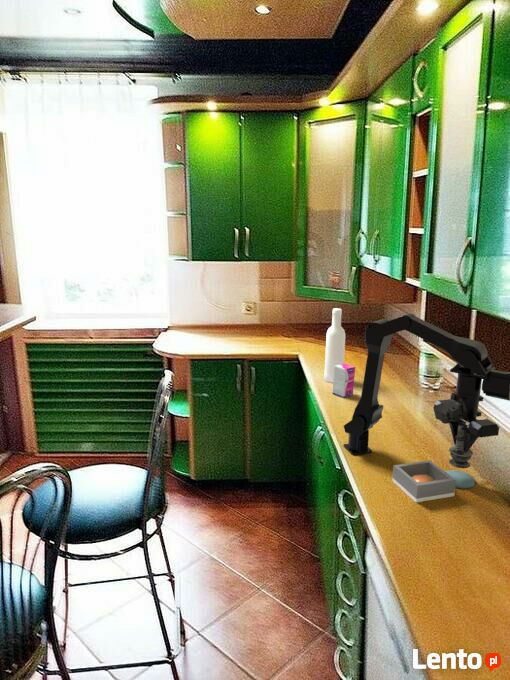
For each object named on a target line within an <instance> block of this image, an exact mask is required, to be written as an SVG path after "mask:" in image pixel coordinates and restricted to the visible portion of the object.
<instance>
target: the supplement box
mask: <svg viewBox="0 0 510 680" xmlns="http://www.w3.org/2000/svg"><path fill="white" fill-rule="evenodd" d="M355 373H356V367H355V366H353V365H350V364H347V363H345V362H344V364H340V365H336V366H335V367H334V380H333V383H332V392H331V393H332V395H334V396H337V397H340V398H342V399H344V398H346V397H350V396H354V386H355V385H354V384H355V375H356V374H355Z"/></svg>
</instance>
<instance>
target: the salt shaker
mask: <svg viewBox="0 0 510 680" xmlns="http://www.w3.org/2000/svg"><path fill="white" fill-rule="evenodd" d="M465 423H466V424H465ZM467 425H468V424H467V422H465V421H464V422H463V424H460V425H459V426H458V432H457V435H456V436H455V437H456V444H454V445H453V446H450V447H449V449H448V451H449V455H450V459H449V460H448V464H449V465H451V466H452V467H454V468H458V469H468V468H470V467H471V463H470V462H469V461H470V459H472V456H473V455H474V452H473V451H472V450H471V448H470V449H469V450H468V451H464V432H463V431H462V430H461V428H465V427H467Z"/></svg>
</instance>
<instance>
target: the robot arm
mask: <svg viewBox="0 0 510 680" xmlns="http://www.w3.org/2000/svg"><path fill="white" fill-rule="evenodd" d="M402 331H407V332H409V333H410V334H411V335H414V336H416V337H418V338H420V339H421V340H423V341H425V342H427V343H430V344H431V345H434V346H435V347H437V348H439V349H441V350H443V351H444V352H446V353H447V354H448V355H449V356H450V358H452V359H453V360H454V361H455V362H456V364H455V365H454V366H453V367H451V368H450V369H449V372H450V373H452V374H453V373H454V374H457V378H456V379H457V380H456V388H455V392H452V393H451V394H450V398H449V399H448V398H447V399H441V400H439V399H438V400H437V401H436V402H435V403H434V404H433V412H434V416H435V419H436V420H438V421H440V422H441V423H442V424H445V425H446V424H448V425H449V428H450V432H451V436H452V439H453V440H452V441H453V444H454V445H455V444H456V437H455V436H456V435H457V432H458V426H459V425H460V424H463V422H464V421H465V422H466V423H465V424H466V425H467V427H465V428H461V430H462V431H463V432H464V451H468V450H469V449H470V450H471V448H472V447H473V445H474V444H475V442H476V441H477V440H478V439H479V438H488V437H495V436H499V431H500V426H499V424H497V423H495V422H494V421H492V420H490V419H488V418H484V419H483V418H482V419H477V417H482V412H481V411H480V410H479V404H480V402H484V397H483V396H482V395H481V390H482V394H485V396H486V397H491V398H496V399H500V400H503V401H507V402H510V371H502V370H496V369H495V365H494V364H493V362H492V360H491V359H490V357H489V356H488V350H487V346H486V345H485V344H484V343H482V342H480V341H478V340H474V339H471V338H467V337H461V336H457V335H454V334H452V333H450V332H448V331H446V330H444V329H442V328H440V327H438V326H436V325H434V324H432V323H429V322H427V321H426V320H424V319H422V318H420V317H418V316H416V315H415V314H414V313H411V312H408V313H406V314H402V315H401V316H399V317H396V318H393V319H390V320H388V319H385V318H382V319H379V320H376V321H373V322H370V323H369V324H368V325H367V326H366V327H365V329H364V343H365V347H366V349H367V356H366V363H365V368H364V377H363V383H362V387H361V388H362V389H361V396H360V398H359V401H358V403H357V405H356V407H355V409H354V411H353V415H352V417H351V420H350V421H348V422H346V423H345V424H344V425H343V429H344V432H345V433H346V434H348V443H344V444H343V447H344V448H345V449H346V450H347V451H348V452H349V453H350V454H351V455H353V456H355V455H363V454H364V455H365V454H369V453H370V454H371V453H373V449H371V448H370V447H369V443H370V442H369V439H370V438H369V437H370V435H369V433H370V431H369V430H370V429H372V428H373V427H374V426H375V425H377V423H378V422H379V421H380V420H381V419H383V416H382V415H383V413H382V412H383V410H384V405H383V404H380V403H379V401H378V397H379V396H378V395H379V389H380V385H381V378H382V372H383V366H384V359H385V354H386V352H387V350H388V348H389V345H390V344H391V342H392V339H393V337H394V334H396V333H399V332H402Z"/></svg>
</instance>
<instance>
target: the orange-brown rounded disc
mask: <svg viewBox="0 0 510 680" xmlns="http://www.w3.org/2000/svg"><path fill="white" fill-rule="evenodd" d="M412 478H413V479H414V480H415V481H417V482H418V483H424V482H431V481H434V479H433V478H431V477H429V476H427V475H414V476H413V477H412Z"/></svg>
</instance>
